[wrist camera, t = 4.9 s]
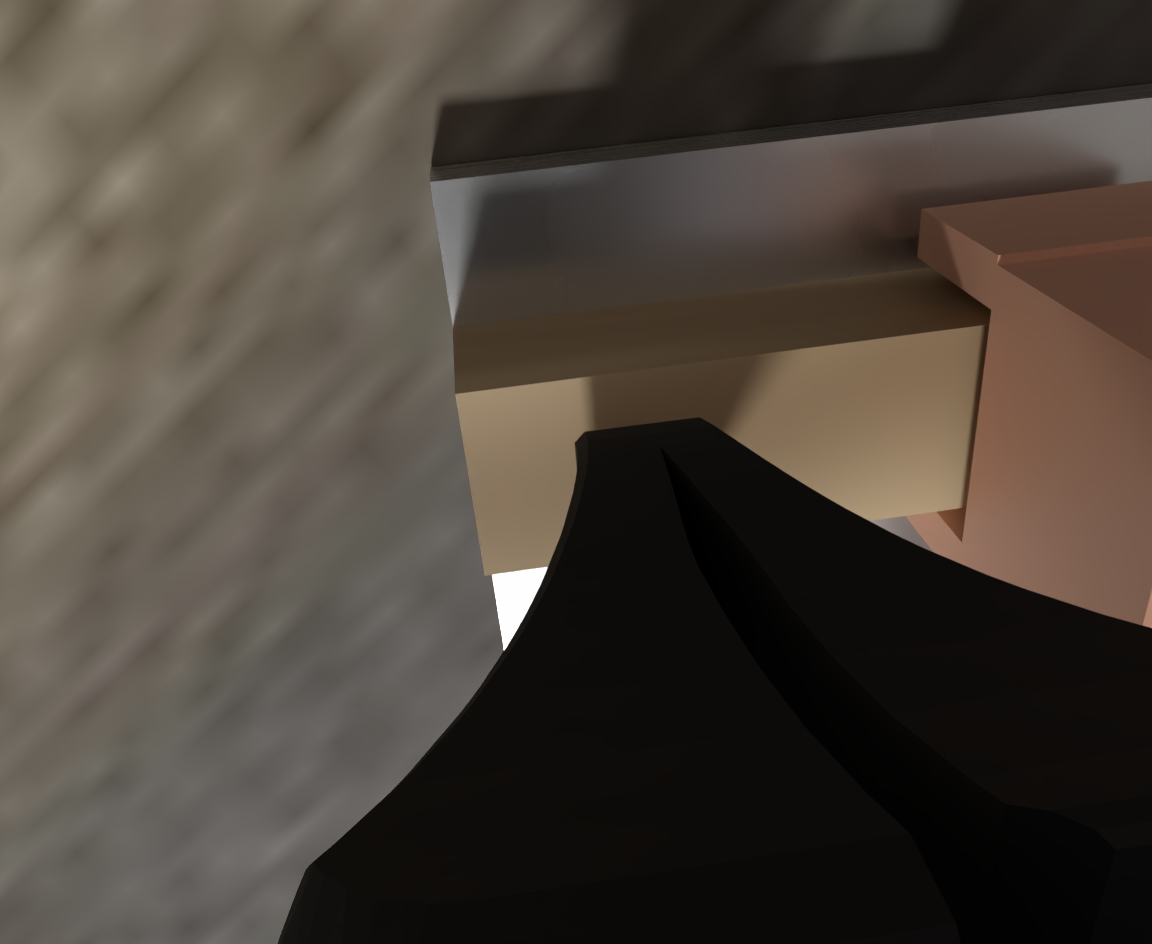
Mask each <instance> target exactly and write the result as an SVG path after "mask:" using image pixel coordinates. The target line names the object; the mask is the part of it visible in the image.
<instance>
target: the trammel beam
mask: <svg viewBox="0 0 1152 944" xmlns="http://www.w3.org/2000/svg"><path fill="white" fill-rule="evenodd" d="M990 317H991V309H989V308H988V307H987V306H985V305H984V304H982V303H981V302H979V301H978V300H977V299H975V298H974V297H972V296H971V295H970V294H968V293H967V292H965V291H964V290H963V289H961V288H960V287H958V286H957V285H956V284H954V283H953V282H951V281H950V280H949V279H947V278H946V277H944V276H943V275H941V274H940V273H939V272H937V271H936V270H934V269H933V268H932V267H928V268H920V269H912V270H904V271H896V272H888V273H881V274H873V275H865V276H857V277H849V278H841V279H833V280H825V281H817V282H809V283H801V284H793V285H786V286H778V287H770V288H762V289H754V290H746V291H738V292H730V293H722V294H714V295H706V296H699V297H691V298H683V299H675V300H667V301H659V302H651V303H643V304H635V305H627V306H619V307H611V308H604V309H596V310H588V311H580V312H572V313H564V314H556V315H548V316H540V317H532V318H524V319H517V320H509V321H501V322H493V323H485V324H477V325H469V326H461V327H453V343H454V371H455V395H456V401H457V408H458V414H459V420H460V426H461V432H462V438H463V444H464V451H465V457H466V463H467V469H468V475H469V481H470V487H471V493H472V500H473V506H474V512H475V518H476V524H477V530H478V536H479V543H480V549H481V555H482V561H483V567H484V573H485V576H486V575H493V574H500V573H507V572H514V571H522V570H529V569H536V568H543V567H548V566H549V563H550V561H551V558H552V556H553V553H554V551H555V548H556V546H557V543H558V541H559V538H560V535H561V533H562V530H563V526H564V523H565V519H566V516H567V512H568V509H569V505H570V501H571V498H572V494H573V490H574V484H575V479H576V473H577V465H576V453H575V442H576V441H577V440H578V438H579V437H580V436H581V435H582V434H583V433H584V432H586V431H594V430H602V429H610V428H617V427H625V426H633V425H641V424H649V423H657V422H665V421H673V420H681V419H689V418H697V417H700V418H702V419H704V420H706V421H707V422H709V423H711V424H712V425H714V426H716V427H717V428H719V429H720V430H722V431H723V432H725V433H726V434H728V435H729V436H731V437H732V438H734V439H735V440H737V441H738V442H740V443H741V444H743V445H744V446H746V447H747V448H749V449H750V450H752V451H753V452H755V453H756V454H758V455H759V456H761V457H762V458H764V459H765V460H767V461H768V462H770V463H772V464H773V465H775V466H776V467H778V468H779V469H781V470H782V471H784V472H786V473H787V474H789V475H790V476H792V477H794V478H795V479H797V480H798V481H800V482H802V483H803V484H805V485H806V486H808V487H810V488H811V489H813V490H815V491H816V492H818V493H820V494H821V495H823V496H825V497H827V498H828V499H830V500H832V501H834V502H835V503H837V504H839V505H841V506H842V507H844V508H846V509H848V510H850V511H851V512H853V513H855V514H857V515H859V516H861V517H863V518H865V519H867V520H868V521H874V520H881V519H888V518H895V517H902V516H909V515H916V514H923V513H930V512H937V511H944V510H951V509H958V508H965V507H967V499H968V491H969V483H970V475H971V467H972V460H973V452H974V444H975V436H976V428H977V420H978V412H979V404H980V396H981V388H982V380H983V372H984V364H985V356H986V348H987V341H988V333H989V325H990Z"/></svg>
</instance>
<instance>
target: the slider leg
mask: <svg viewBox="0 0 1152 944" xmlns="http://www.w3.org/2000/svg"><path fill="white" fill-rule="evenodd" d="M917 257H918V258H919V259H920V260H922V261H923V262H925V263H926V264H927V265H929V266H930V267H932V268H933V269H934V270H936V271H937V272H939V273H940V274H941V275H943V276H944V277H946V278H947V279H949V280H950V281H951V282H953V283H954V284H956V285H957V286H958V287H960V288H961V289H963V290H964V291H965V292H967V293H968V294H970V295H971V296H972V297H974V298H975V299H977V300H978V301H979V302H981V303H982V304H984V305H985V306H987V307H988V308H989V309H991V317H990V325H989V333H988V341H987V348H986V356H985V364H984V372H983V380H982V388H981V396H980V404H979V412H978V420H977V428H976V436H975V444H974V452H973V460H972V467H971V475H970V483H969V491H968V499H967V507H965V508H958V509H951V510H944V511H937V512H930V513H923V514H916V515H909V516H906V518H907V519H908V520H909V522H910V523H911V524H912V525H913V527H914V528H915V529H916V531H917V532H918V533H919V534H920V536H921V537H922V538H923V540H924V541H925V542H926V543H927V545H928V546H929V547H930V549H931V550H932V551H933V552H934V553H937V554H939V555H941V556H944V557H946V558H948V559H951V560H953V561H955V562H958V563H960V564H963V565H965V566H967V567H970V568H972V569H974V570H977V571H979V572H981V573H984V574H986V575H989V576H992V577H994V578H997V579H1000V580H1002V581H1005V582H1008V583H1010V584H1013V585H1016V586H1019V587H1021V588H1024V589H1027V590H1030V591H1033V592H1036V593H1039V594H1042V595H1045V596H1048V597H1051V598H1054V599H1057V600H1060V601H1063V602H1066V603H1069V604H1073V605H1076V606H1079V607H1082V608H1085V609H1088V610H1091V611H1094V612H1097V613H1100V614H1104V615H1107V616H1110V617H1114V618H1118V619H1121V620H1125V621H1128V622H1132V623H1135V624H1139V625H1143V626H1146V627H1150V628H1152V181H1145V182H1137V183H1129V184H1121V185H1112V186H1104V187H1096V188H1088V189H1080V190H1072V191H1063V192H1055V193H1047V194H1039V195H1031V196H1023V197H1014V198H1006V199H998V200H990V201H982V202H974V203H966V204H957V205H949V206H941V207H933V208H925V209H921V219H920V231H919V242H918V254H917Z"/></svg>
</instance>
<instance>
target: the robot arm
mask: <svg viewBox="0 0 1152 944" xmlns="http://www.w3.org/2000/svg"><path fill="white" fill-rule="evenodd" d="M575 453H576V465H577V473H576V479H575V484H574V490H573V494H572V498H571V501H570V505H569V509H568V512H567V516H566V519H565V523H564V526H563V530H562V533H561V535H560V538H559V541H558V543H557V546H556V548H555V551H554V553H553V556H552V558H551V561H550V563H549V566H548V568H547V570H546V573H545V575H544V578H543V580H542V582H541V585H540V587H539V589H538V591H537V593H536V595H535V597H534V599H533V601H532V603H531V605H530V607H529V609H528V611H527V613H526V615H525V616H524V618H523V620H522V622H521V623H520V625H519V627H518V629H517V630H516V632H515V634H514V636H513V637H512V639H511V641H510V642H509V644H508V646H507V647H506V649H505V650H504V652H503V653H502V655H501V656H500V658H499V659H498V661H497V662H496V664H495V665H494V667H493V668H492V670H491V671H490V673H489V674H488V676H487V677H486V679H485V680H484V682H483V683H482V685H481V686H480V688H479V689H478V690H477V692H476V693H475V694H474V696H473V697H472V699H471V700H470V701H469V703H468V704H467V705H466V706H465V708H464V709H463V710H462V712H461V713H460V714H459V715H458V716H457V718H456V719H455V720H454V721H453V722H452V723H451V725H450V726H449V727H448V728H447V729H446V730H445V732H444V733H443V734H442V735H441V736H440V737H439V739H438V740H437V741H436V742H435V743H434V744H433V746H432V747H431V748H430V749H429V750H428V751H427V753H426V754H425V755H424V756H423V757H422V758H421V760H420V761H419V762H418V763H417V764H416V765H415V767H414V768H413V769H412V770H411V771H410V772H409V774H408V775H407V776H406V777H405V778H404V779H403V780H402V781H401V782H400V783H399V784H398V785H397V786H396V787H395V788H394V789H393V790H392V791H391V792H390V793H389V794H388V795H387V796H386V797H385V798H384V799H383V800H382V801H381V802H380V803H378V804H377V805H376V806H375V807H374V808H373V809H372V810H371V811H370V812H369V813H368V814H366V815H365V816H364V817H363V818H362V819H361V820H360V821H359V822H358V823H357V824H356V825H355V826H353V827H352V828H351V829H350V830H349V831H348V832H347V833H346V834H345V835H344V836H343V837H342V838H340V839H339V840H338V841H337V842H336V843H335V844H334V845H333V846H332V847H330V848H329V849H328V850H327V851H326V852H324V853H323V854H322V855H321V856H320V857H319V858H317V859H316V860H315V861H314V862H313V863H312V864H311V865H310V866H309V867H308V868H307V869H306V871H305V873H304V875H303V878H302V880H301V883H300V885H299V888H298V890H297V893H296V895H295V898H294V901H293V903H292V906H291V909H290V911H289V914H288V917H287V919H286V922H285V925H284V927H283V930H282V933H281V935H280V938H279V941H278V944H1152V628H1150V627H1146V626H1143V625H1139V624H1135V623H1132V622H1128V621H1125V620H1121V619H1118V618H1114V617H1110V616H1107V615H1104V614H1100V613H1097V612H1094V611H1091V610H1088V609H1085V608H1082V607H1079V606H1076V605H1073V604H1069V603H1066V602H1063V601H1060V600H1057V599H1054V598H1051V597H1048V596H1045V595H1042V594H1039V593H1036V592H1033V591H1030V590H1027V589H1024V588H1021V587H1019V586H1016V585H1013V584H1010V583H1008V582H1005V581H1002V580H1000V579H997V578H994V577H992V576H989V575H986V574H984V573H981V572H979V571H977V570H974V569H972V568H970V567H967V566H965V565H963V564H960V563H958V562H955V561H953V560H951V559H948V558H946V557H944V556H941V555H939V554H937V553H934V552H932V551H929V550H927V549H925V548H923V547H920V546H918V545H916V544H914V543H912V542H910V541H908V540H906V539H903V538H901V537H899V536H897V535H895V534H893V533H891V532H889V531H887V530H885V529H884V528H882V527H880V526H878V525H876V524H874V523H872V522H870V521H868V520H867V519H865V518H863V517H861V516H859V515H857V514H855V513H853V512H851V511H850V510H848V509H846V508H844V507H842V506H841V505H839V504H837V503H835V502H834V501H832V500H830V499H828V498H827V497H825V496H823V495H821V494H820V493H818V492H816V491H815V490H813V489H811V488H810V487H808V486H806V485H805V484H803V483H802V482H800V481H798V480H797V479H795V478H794V477H792V476H790V475H789V474H787V473H786V472H784V471H782V470H781V469H779V468H778V467H776V466H775V465H773V464H772V463H770V462H768V461H767V460H765V459H764V458H762V457H761V456H759V455H758V454H756V453H755V452H753V451H752V450H750V449H749V448H747V447H746V446H744V445H743V444H741V443H740V442H738V441H737V440H735V439H734V438H732V437H731V436H729V435H728V434H726V433H725V432H723V431H722V430H720V429H719V428H717V427H716V426H714V425H712V424H711V423H709V422H707V421H706V420H704V419H702V418H700V417H697V418H689V419H681V420H673V421H665V422H657V423H649V424H641V425H633V426H625V427H617V428H610V429H602V430H594V431H586V432H584V433H583V434H582V435H581V436H580V437H579V438H578V440H577V441H576V442H575Z"/></svg>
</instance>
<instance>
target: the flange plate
mask: <svg viewBox="0 0 1152 944" xmlns="http://www.w3.org/2000/svg"><path fill="white" fill-rule="evenodd" d="M1145 181H1152V83H1150V84H1141V85H1132V86H1124V87H1115V88H1107V89H1098V90H1089V91H1081V92H1072V93H1064V94H1055V95H1046V96H1038V97H1029V98H1021V99H1012V100H1003V101H995V102H986V103H978V104H969V105H960V106H952V107H943V108H935V109H926V110H917V111H909V112H900V113H892V114H883V115H874V116H866V117H857V118H849V119H840V120H831V121H823V122H814V123H806V124H797V125H788V126H780V127H771V128H763V129H754V130H745V131H737V132H728V133H720V134H711V135H702V136H694V137H685V138H677V139H668V140H659V141H651V142H642V143H634V144H625V145H616V146H608V147H599V148H591V149H582V150H573V151H565V152H556V153H548V154H539V155H530V156H522V157H513V158H505V159H496V160H487V161H479V162H470V163H462V164H453V165H444V166H436V167H430V186H431V192H432V198H433V205H434V211H435V217H436V224H437V230H438V236H439V242H440V249H441V255H442V261H443V268H444V274H445V280H446V287H447V293H448V299H449V306H450V312H451V318H452V325H453V327H461V326H469V325H477V324H485V323H493V322H501V321H509V320H517V319H524V318H532V317H540V316H548V315H556V314H564V313H572V312H580V311H588V310H596V309H604V308H611V307H619V306H627V305H635V304H643V303H651V302H659V301H667V300H675V299H683V298H691V297H699V296H706V295H714V294H722V293H730V292H738V291H746V290H754V289H762V288H770V287H778V286H786V285H793V284H801V283H809V282H817V281H825V280H833V279H841V278H849V277H857V276H865V275H873V274H881V273H888V272H896V271H904V270H912V269H920V268H928V267H930V266H929V265H927V264H926V263H925V262H923V261H922V260H920V259H919V258H918V257H917V254H918V242H919V231H920V219H921V209H925V208H933V207H941V206H949V205H957V204H966V203H974V202H982V201H990V200H998V199H1006V198H1014V197H1023V196H1031V195H1039V194H1047V193H1055V192H1063V191H1072V190H1080V189H1088V188H1096V187H1104V186H1112V185H1121V184H1129V183H1137V182H1145ZM870 522H872V523H874V524H876V525H878V526H880V527H882V528H884V529H885V530H887V531H889V532H891V533H893V534H895V535H897V536H899V537H901V538H903V539H906V540H908V541H910V542H912V543H914V544H916V545H918V546H920V547H923V548H925V549H927V550H929V551H932V550H931V549H930V547H929V546H928V545H927V543H926V542H925V541H924V540H923V538H922V537H921V536H920V534H919V533H918V532H917V531H916V529H915V528H914V527H913V525H912V524H911V523H910V522H909V520H908V519H907V518H906V516H902V517H895V518H888V519H881V520H874V521H870ZM932 552H933V551H932ZM547 568H548V567H543V568H536V569H529V570H522V571H514V572H507V573H500V574H493V575H492V577H493V583H494V590H495V596H496V602H497V609H498V615H499V621H500V628H501V634H502V640H503V647H504V650H505V649H506V647H507V646H508V644H509V642H510V641H511V639H512V637H513V636H514V634H515V632H516V630H517V629H518V627H519V625H520V623H521V622H522V620H523V618H524V616H525V615H526V613H527V611H528V609H529V607H530V605H531V603H532V601H533V599H534V597H535V595H536V593H537V591H538V589H539V587H540V585H541V582H542V580H543V578H544V575H545V573H546V570H547Z"/></svg>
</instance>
